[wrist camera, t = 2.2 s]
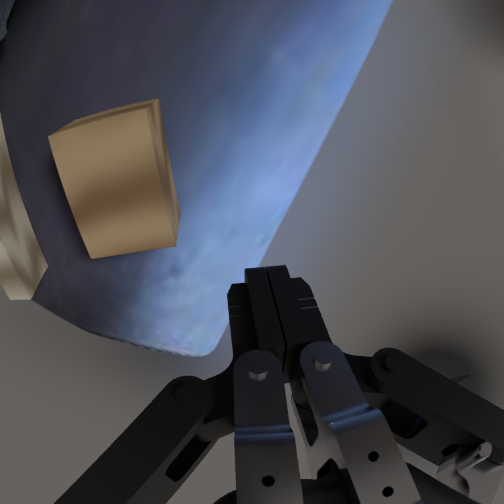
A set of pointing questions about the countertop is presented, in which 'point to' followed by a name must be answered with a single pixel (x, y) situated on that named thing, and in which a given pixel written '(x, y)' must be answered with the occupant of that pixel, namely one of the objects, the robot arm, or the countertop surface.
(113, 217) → the oak block
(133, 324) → the countertop surface
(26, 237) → the board
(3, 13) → the stone
